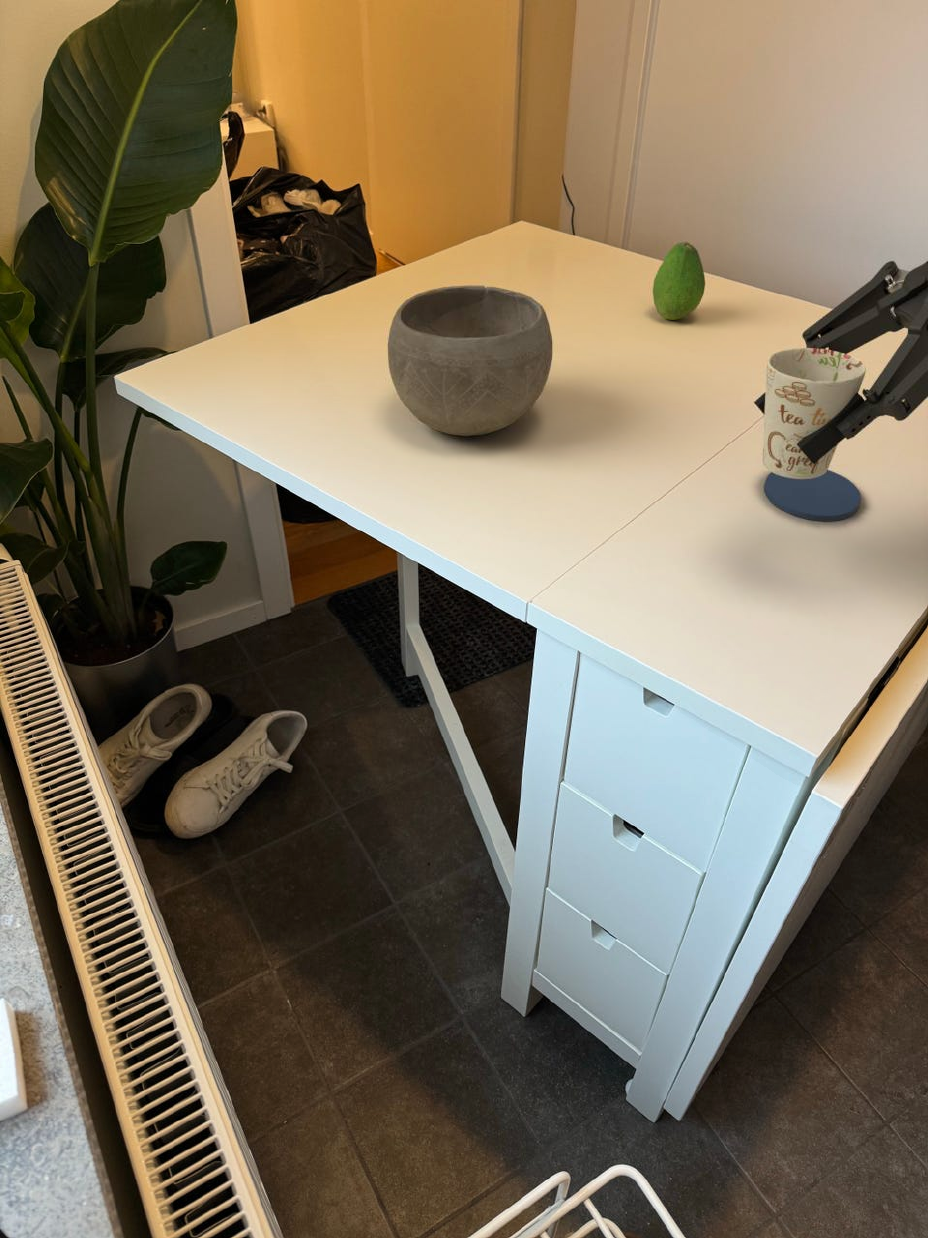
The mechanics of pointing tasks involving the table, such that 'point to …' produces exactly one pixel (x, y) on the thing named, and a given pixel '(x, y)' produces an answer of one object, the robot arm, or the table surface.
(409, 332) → the bowl
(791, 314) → the table surface
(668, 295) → the fruit
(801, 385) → the mug
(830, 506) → the coaster
